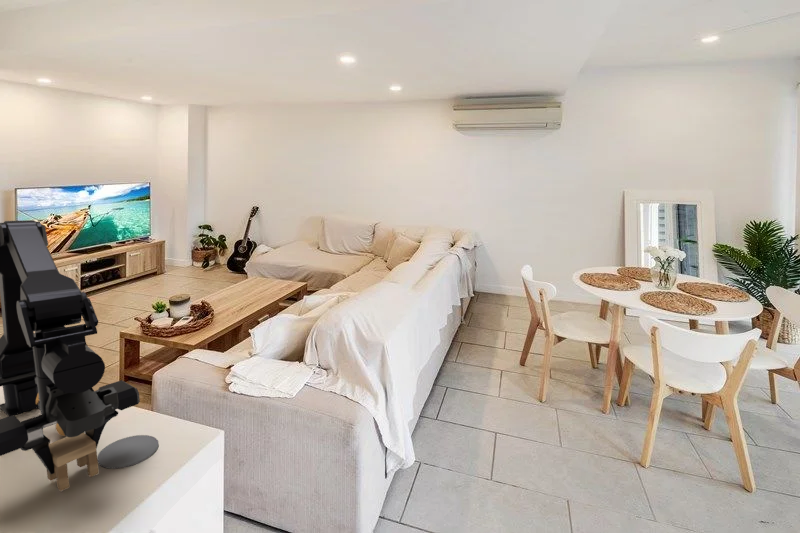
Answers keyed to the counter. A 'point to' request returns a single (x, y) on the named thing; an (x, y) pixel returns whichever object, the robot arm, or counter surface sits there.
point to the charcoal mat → (128, 451)
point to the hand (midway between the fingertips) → (72, 464)
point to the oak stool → (72, 457)
